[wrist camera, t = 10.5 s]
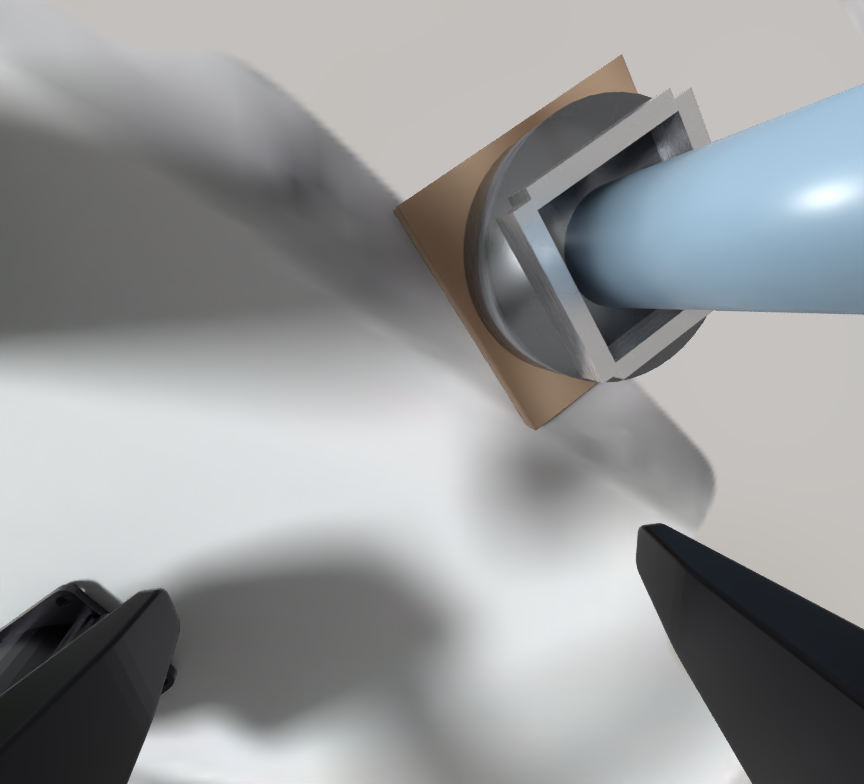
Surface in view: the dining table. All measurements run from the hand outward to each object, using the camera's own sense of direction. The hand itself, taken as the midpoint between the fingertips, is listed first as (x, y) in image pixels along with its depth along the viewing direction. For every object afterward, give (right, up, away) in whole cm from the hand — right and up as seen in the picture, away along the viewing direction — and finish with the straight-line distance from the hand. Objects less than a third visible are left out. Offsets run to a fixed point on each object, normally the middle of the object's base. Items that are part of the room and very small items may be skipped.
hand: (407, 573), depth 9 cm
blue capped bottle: (+8, +9, +9) cm, 15 cm away
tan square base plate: (+7, +10, +13) cm, 18 cm away
